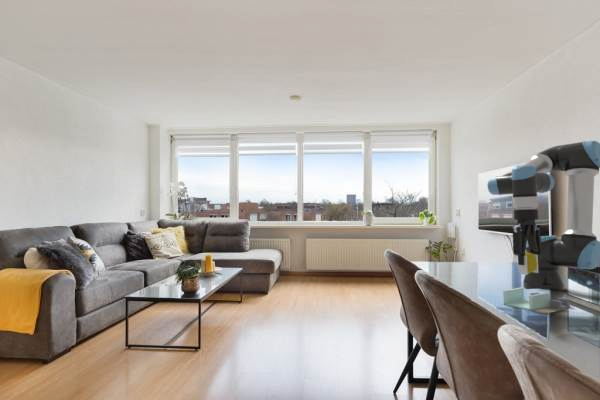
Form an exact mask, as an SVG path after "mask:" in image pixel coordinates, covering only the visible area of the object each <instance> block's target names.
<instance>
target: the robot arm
mask: <svg viewBox="0 0 600 400" xmlns="http://www.w3.org/2000/svg"><path fill="white" fill-rule="evenodd" d="M554 172H564V174H565V175H566V176H567V177H568V185H567V186H568V187H567V202H566V203H567V204H566V205H567V206H566V225H565V227H566V229H565V231H564V232H562V233H561V234H560V235H561V237H560V238H558V236H557V235H543V236H541V230H542V226H541V225H540V224H536V220H538V219H539V210H538V209H537V208H538V207H539V204H538V193H539V194H544V193H548V192H551V190H552V189H554V187H555V183H556V182H555V179H554V177H553V175H551V174H549V173H554ZM599 173H600V142H598V141H596V140H589V141H588V140H587V141H586V140H585V141H584V140H583V141H580V142H574V143H568V144H562V145H560V144H559V145H555V146H552V147H550V148H546V149H545V150H541V151H540V152H537V153H536V154H534V155H532V157H531V158H530V159H529V160H528V161H527V162H524V163H522V164H521V165H519V166H515V167H513V168H512V169H511V171H509V172H507V173H505V174H503V175H500V176H494V177H493V176H492V177H490V178H489V179H488V181H487V191H488V192H489V193H490V194H491V195H493V196H497V195H498V196H502V195H503V196H504V195H512V203H513V209H514V210H513V219H514V220H515V221H517V222H516V225H515V226H513V225H512V226H511V233H512V253H513V255H514V256H517V260H518V261H517V263H518V274H519V275H525V276H524V279H523V288H524V289H528V290H534V289H535V290H536V289H540V290H554V291H558V292H563V291H565V289H566V288H565V283H564V282H563V281H564V280H563V278H562V276H561V274H560V272H559V267H564V268H565V267H566V268H573V269H574V268H575V269H580V270H584V269H585V270H593V269H596V268H597V267H598V266H599V264H600V240H597V239H598V236H596V235H595V234H594V233H593V222H594V221H593V216H594V189H595V188H594V187H595V177H596V176H597V175H598V174H599ZM526 252H529V253H531V254H533V255H534V256H535V258H536V261H537V267H536V269H535V270H534V271H533V272H531V273H529V274H528V267H527V256H525V253H526Z"/></svg>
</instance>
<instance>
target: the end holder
mask: <svg viewBox="0 0 600 400" xmlns="http://www.w3.org/2000/svg"><path fill="white" fill-rule="evenodd" d="M524 289H525V288H524V287H522V286H521V287H515V288H511V289H510V288H509V289H504V290H502V293H503V296H502V297H503V305H505V306H509V307H513V308H517V307H518V309H521V308H522V309H523V310H525V309H526V311H529V310H530V312H534V311H535V310H540V309H544V308H548V307H550V306H551V305H550V300H551V293H550V292H549V291H547V292H541V293H540V292H539V293H540V294H535V295H530V294H529V295H528V299H525V293H524Z"/></svg>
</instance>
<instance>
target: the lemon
mask: <svg viewBox="0 0 600 400" xmlns="http://www.w3.org/2000/svg"><path fill="white" fill-rule="evenodd" d="M525 256H527V267H528V274H529V273H531V272H533V271H534V270H535V269H536V267H537V261H536V258H535V256H534V255H533V254H531V253H529V252H525Z"/></svg>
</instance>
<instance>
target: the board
mask: <svg viewBox="0 0 600 400" xmlns="http://www.w3.org/2000/svg"><path fill="white" fill-rule="evenodd" d="M574 307H575V306H573V305H570V307H569V308H565V309H561V310H559V309H554V308H550V307H548V308H544V309H540V310H535V311H533V313H539V314H544V315H545V314H550V313H553V312H558V311H562V310H566V309H570V308H574ZM516 308H518V307H516ZM518 309H519V308H518ZM520 309H522V308H520ZM524 310H526V309H524ZM526 311H527V310H526ZM528 311H530V310H528ZM530 312H531V311H530Z"/></svg>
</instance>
